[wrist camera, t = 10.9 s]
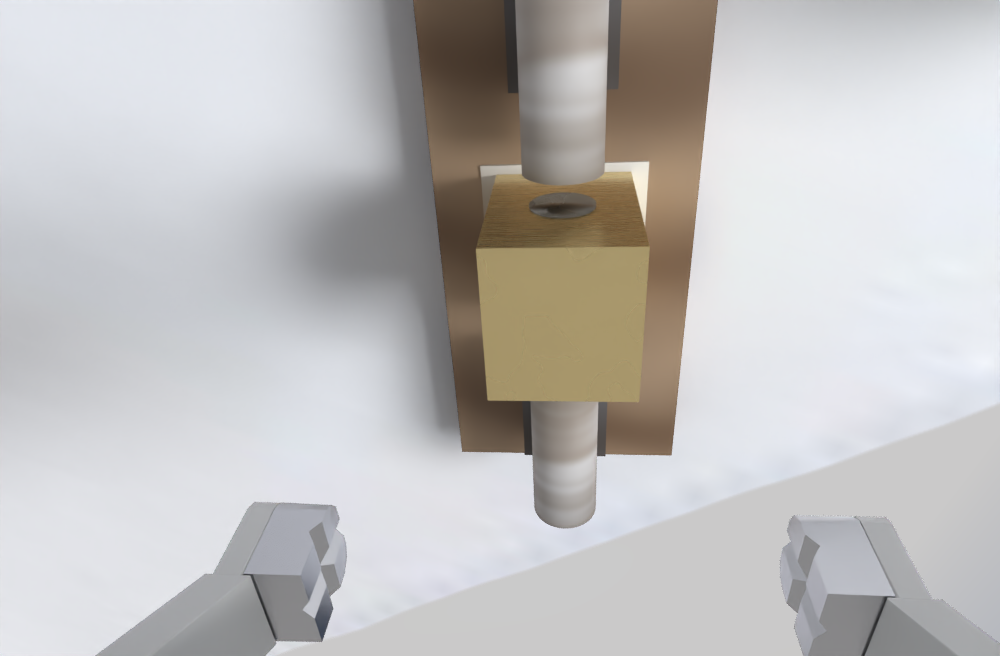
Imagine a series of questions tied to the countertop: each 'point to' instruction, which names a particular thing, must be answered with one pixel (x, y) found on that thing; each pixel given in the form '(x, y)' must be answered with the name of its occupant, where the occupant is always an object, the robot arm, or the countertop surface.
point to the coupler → (563, 290)
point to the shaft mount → (567, 161)
